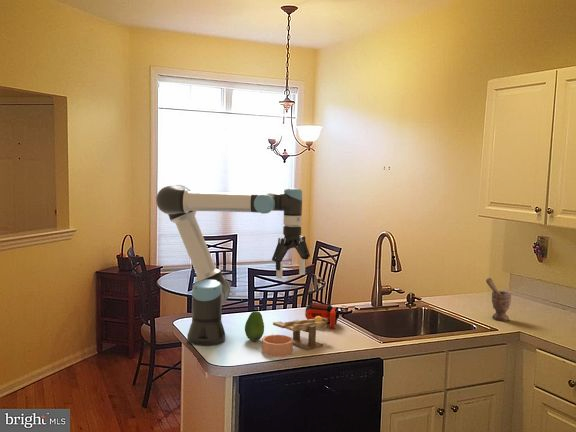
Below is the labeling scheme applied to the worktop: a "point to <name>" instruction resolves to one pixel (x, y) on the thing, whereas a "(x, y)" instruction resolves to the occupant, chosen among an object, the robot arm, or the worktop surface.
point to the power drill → (323, 313)
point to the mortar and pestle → (499, 302)
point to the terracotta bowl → (277, 345)
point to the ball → (318, 319)
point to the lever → (302, 324)
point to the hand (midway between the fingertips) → (290, 276)
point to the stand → (305, 342)
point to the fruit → (254, 326)
